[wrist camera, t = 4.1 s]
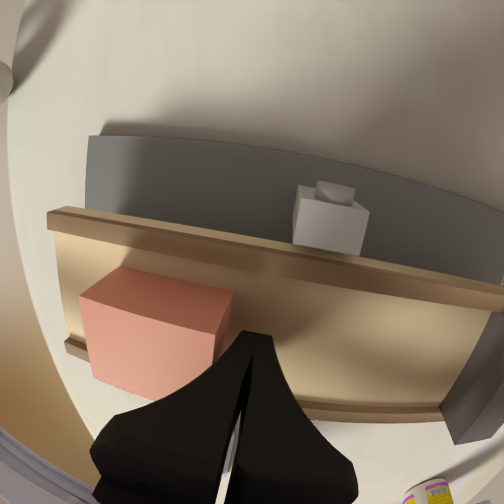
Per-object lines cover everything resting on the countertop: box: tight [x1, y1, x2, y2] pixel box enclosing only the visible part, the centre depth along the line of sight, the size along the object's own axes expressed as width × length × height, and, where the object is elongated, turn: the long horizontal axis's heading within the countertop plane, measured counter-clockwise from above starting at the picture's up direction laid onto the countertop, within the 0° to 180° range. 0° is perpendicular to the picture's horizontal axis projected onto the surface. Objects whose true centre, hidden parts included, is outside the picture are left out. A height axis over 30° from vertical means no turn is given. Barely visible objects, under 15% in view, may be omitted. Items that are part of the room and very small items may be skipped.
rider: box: [79, 266, 234, 401], centre depth 11 cm, size 4×5×3 cm
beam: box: [47, 206, 504, 445], centre depth 11 cm, size 8×24×4 cm, turn 82°
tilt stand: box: [85, 136, 504, 285], centre depth 14 cm, size 15×27×6 cm, turn 82°
